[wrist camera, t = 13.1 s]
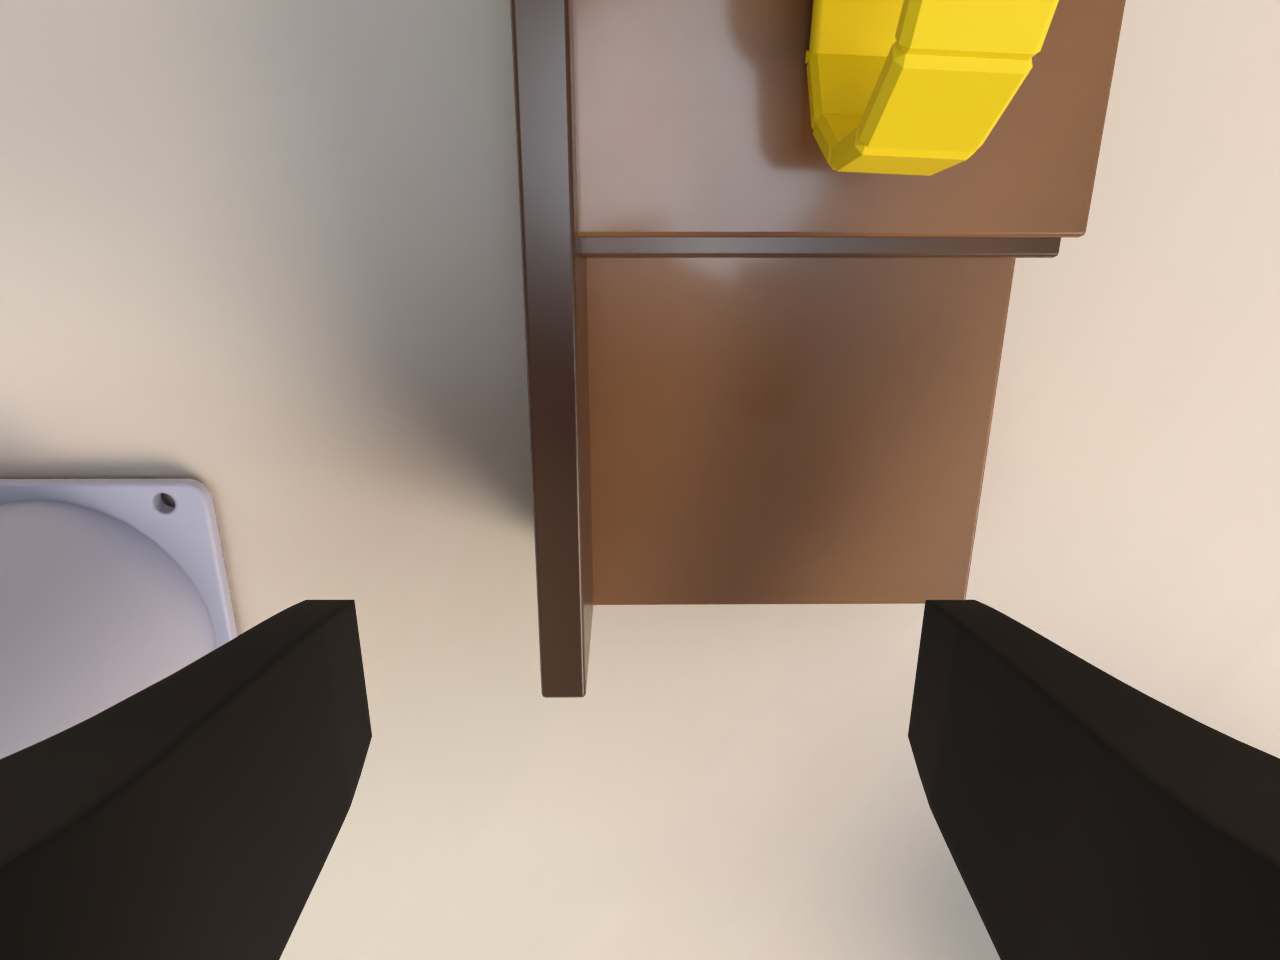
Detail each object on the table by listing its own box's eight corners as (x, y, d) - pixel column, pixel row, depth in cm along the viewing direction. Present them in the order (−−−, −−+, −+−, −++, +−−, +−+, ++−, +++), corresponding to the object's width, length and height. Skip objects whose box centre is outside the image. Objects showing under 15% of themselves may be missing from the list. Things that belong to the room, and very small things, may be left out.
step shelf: (566, 548, 22) (541, 698, 16) (541, -228, 16) (489, -462, 10) (922, 547, 22) (1035, 696, 16) (1018, -225, 16) (1250, -456, 10)
